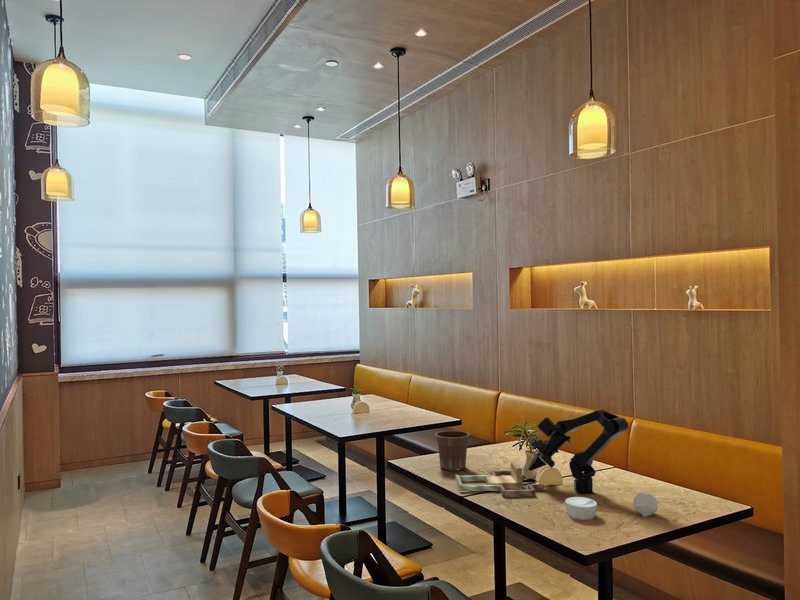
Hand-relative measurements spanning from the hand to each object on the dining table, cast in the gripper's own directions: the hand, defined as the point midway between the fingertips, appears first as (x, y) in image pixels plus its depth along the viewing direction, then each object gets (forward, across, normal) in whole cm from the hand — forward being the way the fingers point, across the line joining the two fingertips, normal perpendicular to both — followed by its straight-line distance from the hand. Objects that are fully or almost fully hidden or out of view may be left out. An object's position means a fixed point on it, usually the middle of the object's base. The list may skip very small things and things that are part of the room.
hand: (529, 470), depth 257 cm
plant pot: (+26, -30, -16) cm, 43 cm away
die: (-20, +37, +29) cm, 51 cm away
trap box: (+14, 0, -5) cm, 15 cm away
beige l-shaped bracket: (+13, 0, -3) cm, 13 cm away
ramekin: (-2, +37, +12) cm, 39 cm away
